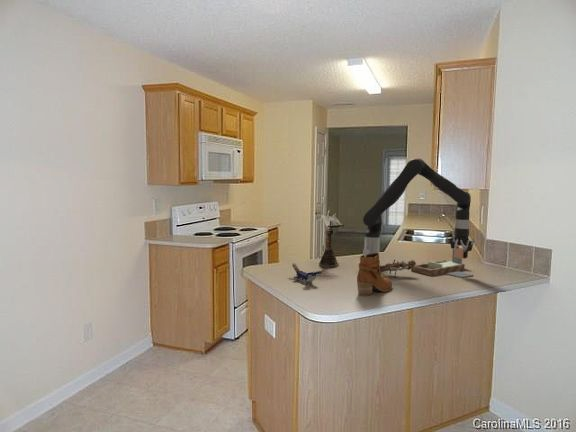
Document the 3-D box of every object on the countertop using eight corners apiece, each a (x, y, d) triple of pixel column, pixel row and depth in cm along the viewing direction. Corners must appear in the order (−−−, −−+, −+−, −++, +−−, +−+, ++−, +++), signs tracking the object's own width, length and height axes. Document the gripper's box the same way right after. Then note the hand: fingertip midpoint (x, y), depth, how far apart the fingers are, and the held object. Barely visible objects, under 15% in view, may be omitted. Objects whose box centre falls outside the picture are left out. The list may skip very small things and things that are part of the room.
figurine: (363, 261, 226) (412, 252, 226) (365, 275, 230) (413, 267, 230) (367, 270, 217) (418, 261, 216) (369, 285, 221) (419, 276, 220)
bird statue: (347, 268, 242) (349, 210, 238) (328, 270, 237) (329, 210, 234) (335, 262, 257) (336, 208, 254) (316, 264, 252) (317, 208, 249)
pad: (462, 278, 220) (462, 277, 219) (446, 274, 228) (446, 273, 228) (473, 275, 225) (473, 274, 225) (457, 272, 233) (457, 271, 233)
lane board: (430, 275, 224) (430, 270, 224) (411, 270, 236) (411, 265, 236) (464, 269, 240) (464, 264, 239) (444, 265, 251) (444, 260, 251)
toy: (304, 292, 202) (306, 273, 199) (284, 272, 221) (286, 255, 218) (321, 289, 207) (324, 271, 204) (300, 270, 226) (302, 253, 223)
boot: (384, 285, 205) (385, 248, 203) (399, 289, 197) (400, 251, 195) (349, 292, 191) (350, 253, 189) (363, 297, 183) (364, 256, 181)
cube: (461, 258, 222) (462, 249, 222) (453, 257, 226) (454, 248, 226) (467, 257, 225) (467, 248, 224) (459, 256, 229) (459, 247, 228)
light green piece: (441, 270, 232) (441, 254, 231) (428, 267, 240) (428, 251, 239) (464, 266, 244) (465, 250, 243) (452, 263, 251) (452, 248, 250)
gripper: (446, 226, 228) (445, 256, 230) (469, 229, 216) (467, 260, 217) (455, 225, 232) (453, 254, 233) (477, 228, 220) (476, 259, 221)
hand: (460, 257), depth 225 cm, fingers closed on cube, 5 cm apart
